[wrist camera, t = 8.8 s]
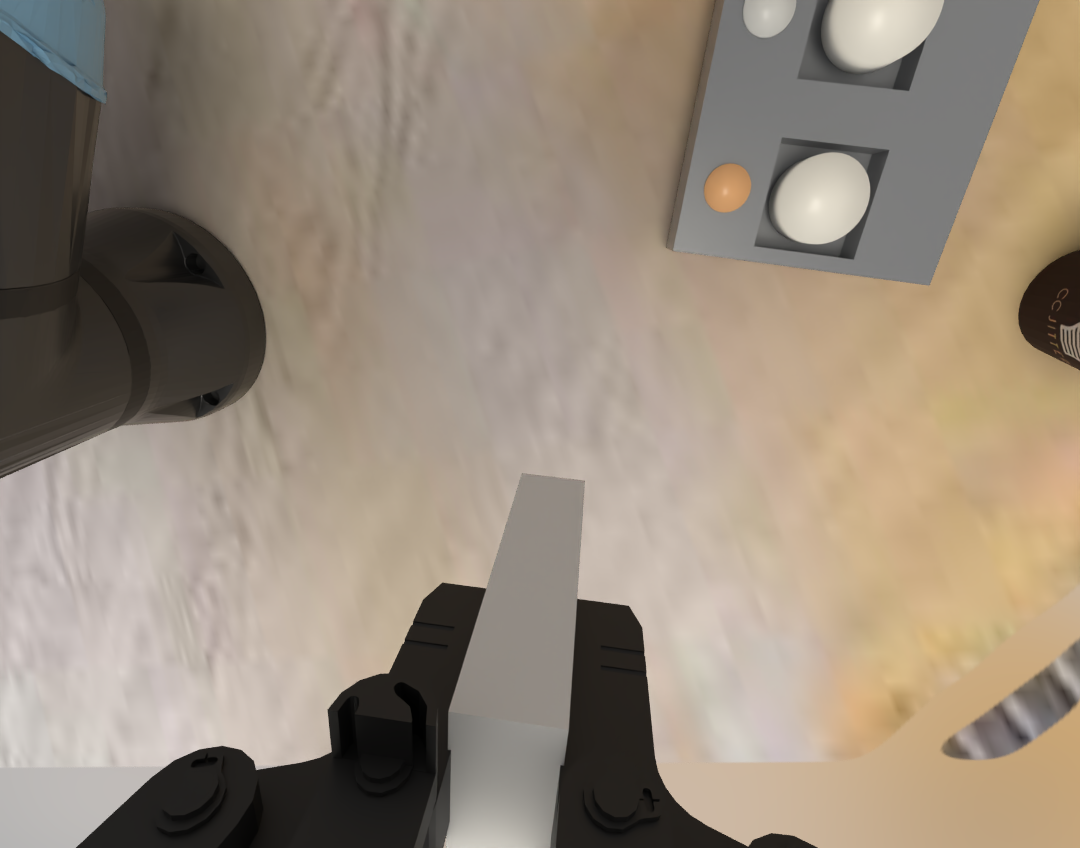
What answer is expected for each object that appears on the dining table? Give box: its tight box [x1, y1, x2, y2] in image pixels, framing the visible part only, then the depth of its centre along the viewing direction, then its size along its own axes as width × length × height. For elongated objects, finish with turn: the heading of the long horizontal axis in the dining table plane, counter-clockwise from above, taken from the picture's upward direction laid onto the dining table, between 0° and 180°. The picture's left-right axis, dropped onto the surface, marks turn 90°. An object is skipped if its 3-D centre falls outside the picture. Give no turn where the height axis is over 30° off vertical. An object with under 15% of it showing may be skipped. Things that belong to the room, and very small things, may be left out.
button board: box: [666, 0, 1039, 285], centre depth 27 cm, size 14×23×4 cm, turn 173°
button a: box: [769, 152, 870, 244], centre depth 28 cm, size 4×4×2 cm
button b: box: [821, 0, 944, 74], centre depth 25 cm, size 4×4×2 cm
